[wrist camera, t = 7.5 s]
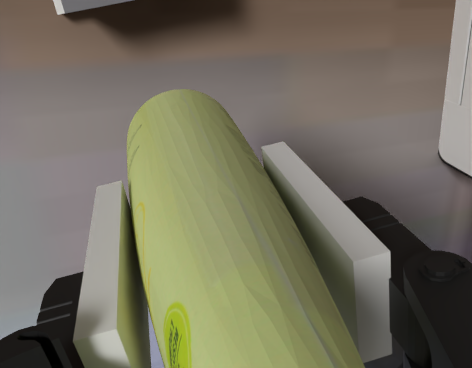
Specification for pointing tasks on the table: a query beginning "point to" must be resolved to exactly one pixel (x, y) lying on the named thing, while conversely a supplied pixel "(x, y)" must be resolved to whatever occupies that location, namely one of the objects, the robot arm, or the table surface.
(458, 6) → the laminator
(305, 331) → the tube
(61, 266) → the table surface
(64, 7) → the grey and white box
